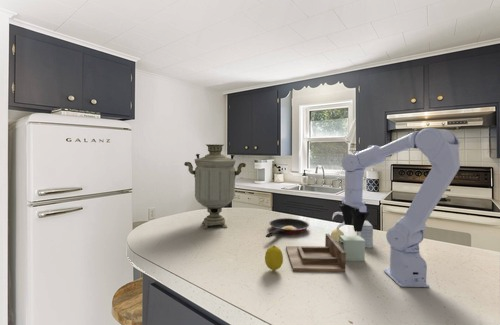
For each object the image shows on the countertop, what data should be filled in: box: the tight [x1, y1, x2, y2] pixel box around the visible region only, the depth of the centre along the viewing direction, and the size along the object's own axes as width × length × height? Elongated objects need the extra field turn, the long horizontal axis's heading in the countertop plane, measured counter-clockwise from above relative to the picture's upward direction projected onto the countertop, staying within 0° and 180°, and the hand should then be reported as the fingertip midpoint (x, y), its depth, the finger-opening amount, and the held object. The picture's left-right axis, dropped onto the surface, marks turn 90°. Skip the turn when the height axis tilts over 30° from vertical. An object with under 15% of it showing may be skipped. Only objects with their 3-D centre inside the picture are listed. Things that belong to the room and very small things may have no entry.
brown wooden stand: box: [285, 233, 347, 273], centre depth 88 cm, size 18×16×6 cm
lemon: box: [264, 245, 284, 272], centre depth 79 cm, size 6×6×8 cm
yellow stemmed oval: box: [330, 211, 346, 243], centre depth 106 cm, size 6×5×12 cm
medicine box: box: [356, 220, 374, 249], centre depth 102 cm, size 8×4×9 cm, turn 168°
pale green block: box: [338, 234, 366, 262], centre depth 89 cm, size 5×8×7 cm, turn 89°
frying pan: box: [265, 217, 310, 238], centre depth 115 cm, size 19×32×4 cm, turn 149°
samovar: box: [184, 143, 247, 230], centre depth 128 cm, size 30×26×40 cm
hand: (352, 227), depth 89 cm, fingers open, 7 cm apart
